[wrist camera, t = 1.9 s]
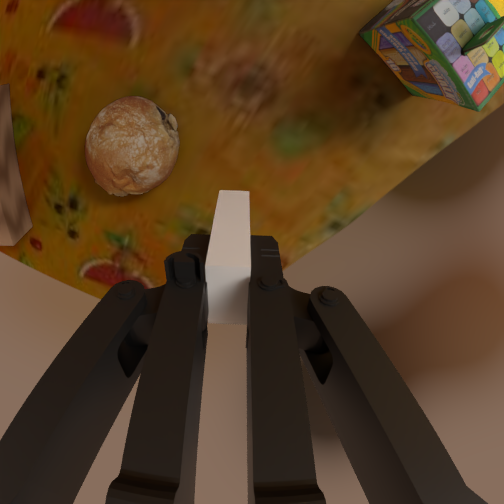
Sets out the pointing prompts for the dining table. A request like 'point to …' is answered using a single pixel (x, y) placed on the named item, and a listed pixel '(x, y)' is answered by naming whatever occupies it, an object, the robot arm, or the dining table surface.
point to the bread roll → (131, 146)
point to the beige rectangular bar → (10, 180)
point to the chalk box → (442, 48)
